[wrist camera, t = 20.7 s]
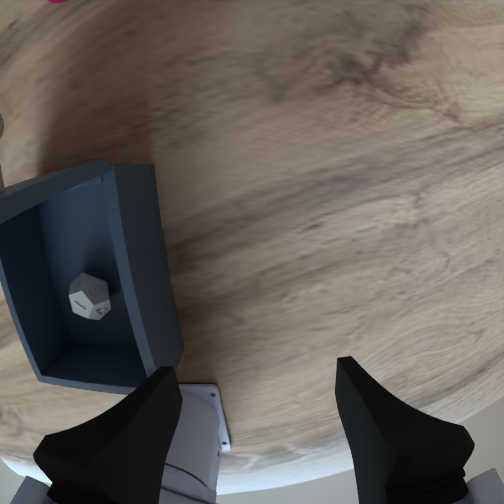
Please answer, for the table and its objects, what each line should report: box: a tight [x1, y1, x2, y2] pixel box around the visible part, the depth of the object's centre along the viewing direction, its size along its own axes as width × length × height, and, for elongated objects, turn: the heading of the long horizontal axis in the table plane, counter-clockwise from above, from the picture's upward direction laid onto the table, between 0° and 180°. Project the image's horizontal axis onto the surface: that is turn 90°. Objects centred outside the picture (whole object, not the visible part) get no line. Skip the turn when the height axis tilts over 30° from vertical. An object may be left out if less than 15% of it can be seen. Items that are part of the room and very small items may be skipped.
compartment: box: [0, 164, 184, 395], centre depth 20 cm, size 15×12×6 cm
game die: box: [69, 272, 112, 320], centre depth 21 cm, size 4×4×3 cm
